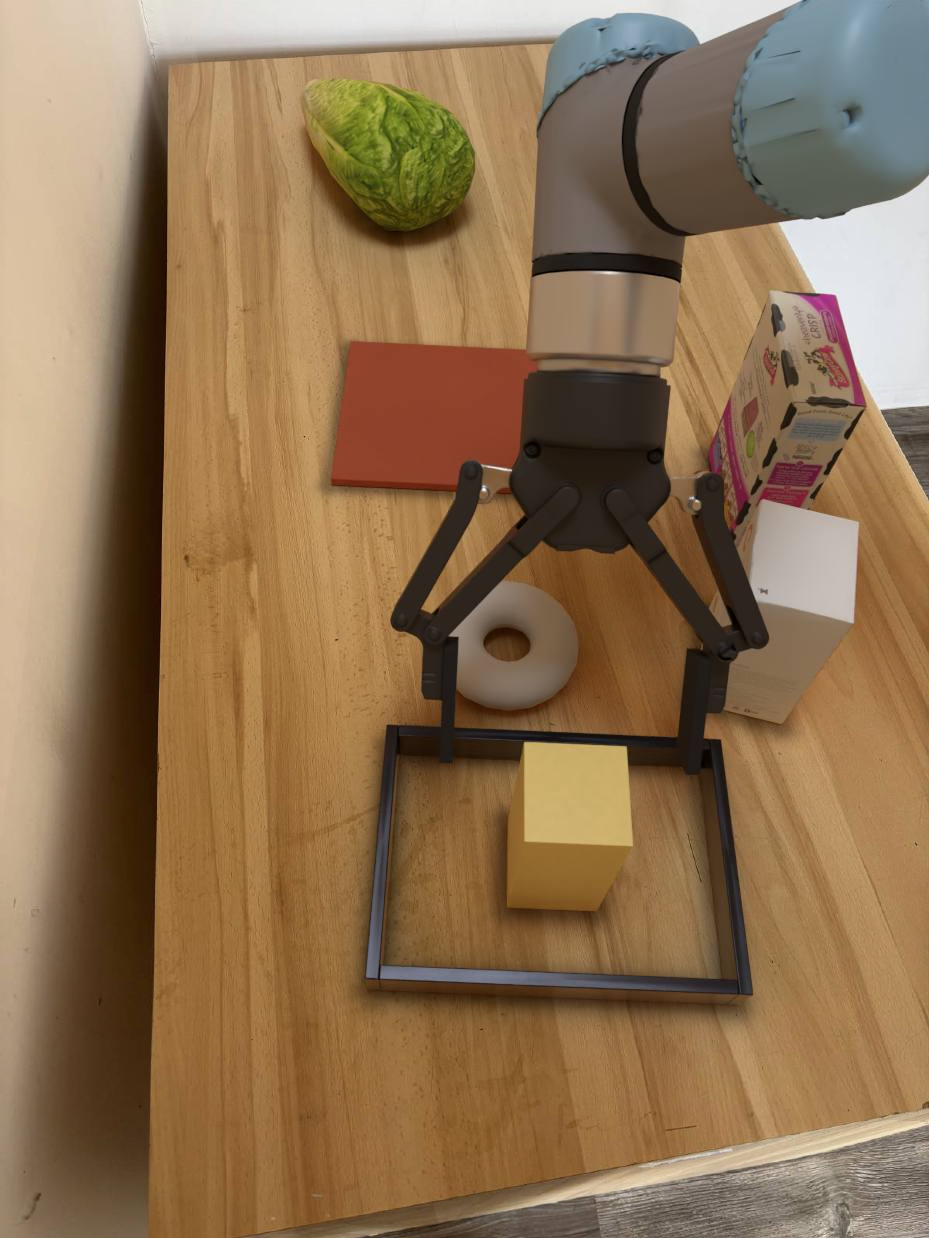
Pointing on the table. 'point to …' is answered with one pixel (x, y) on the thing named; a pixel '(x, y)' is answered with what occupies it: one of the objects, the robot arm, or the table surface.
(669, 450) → the table surface
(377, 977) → the frame
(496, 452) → the mat
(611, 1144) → the table surface
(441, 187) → the lettuce
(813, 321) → the candy bar box
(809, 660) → the small box
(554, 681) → the donut
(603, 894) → the carton
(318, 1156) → the table surface
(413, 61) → the table surface
